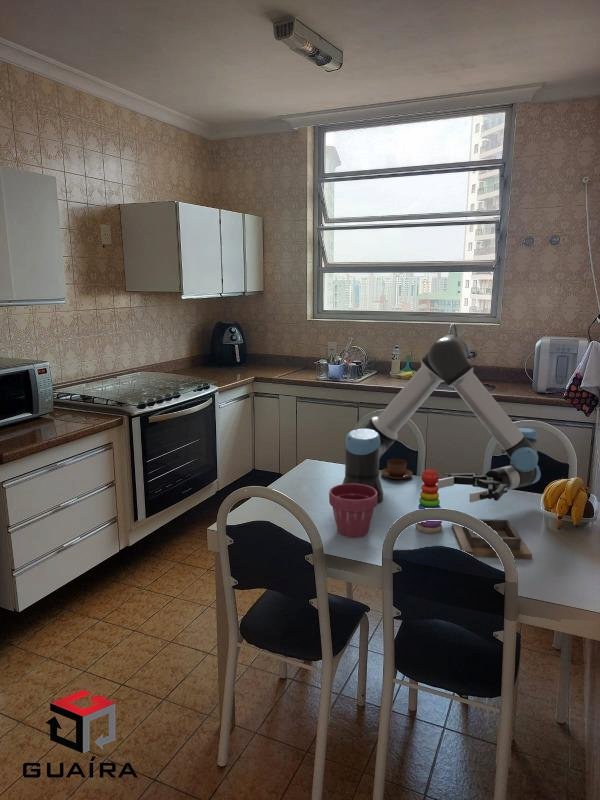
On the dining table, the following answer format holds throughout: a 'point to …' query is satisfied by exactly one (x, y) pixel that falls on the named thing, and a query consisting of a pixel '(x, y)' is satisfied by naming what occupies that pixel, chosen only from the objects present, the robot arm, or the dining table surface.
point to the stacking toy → (429, 501)
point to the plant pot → (353, 508)
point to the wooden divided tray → (482, 548)
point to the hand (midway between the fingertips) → (453, 490)
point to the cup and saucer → (396, 469)
